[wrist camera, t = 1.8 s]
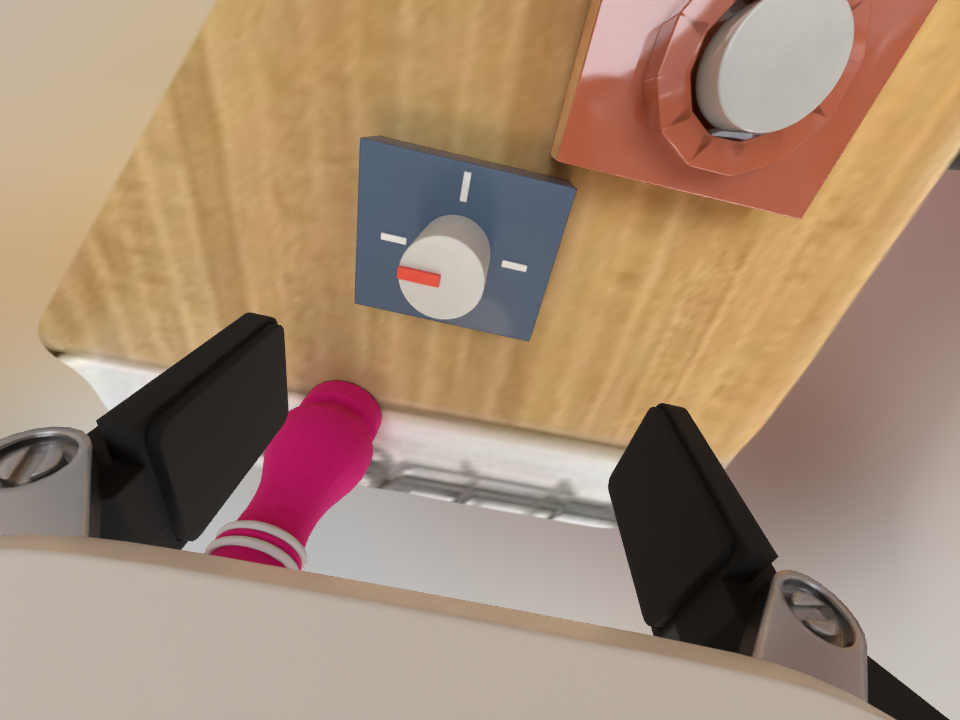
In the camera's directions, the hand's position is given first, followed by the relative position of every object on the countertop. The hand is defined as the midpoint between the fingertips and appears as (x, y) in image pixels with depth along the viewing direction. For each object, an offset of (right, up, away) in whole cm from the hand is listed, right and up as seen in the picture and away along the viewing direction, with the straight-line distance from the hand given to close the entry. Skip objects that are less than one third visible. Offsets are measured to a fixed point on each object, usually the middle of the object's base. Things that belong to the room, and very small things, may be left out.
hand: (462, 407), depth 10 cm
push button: (+11, +12, +4) cm, 17 cm away
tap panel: (-1, +9, +14) cm, 17 cm away
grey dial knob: (-1, +7, +12) cm, 14 cm away
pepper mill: (-11, -3, +22) cm, 25 cm away
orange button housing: (+11, +15, +9) cm, 21 cm away
